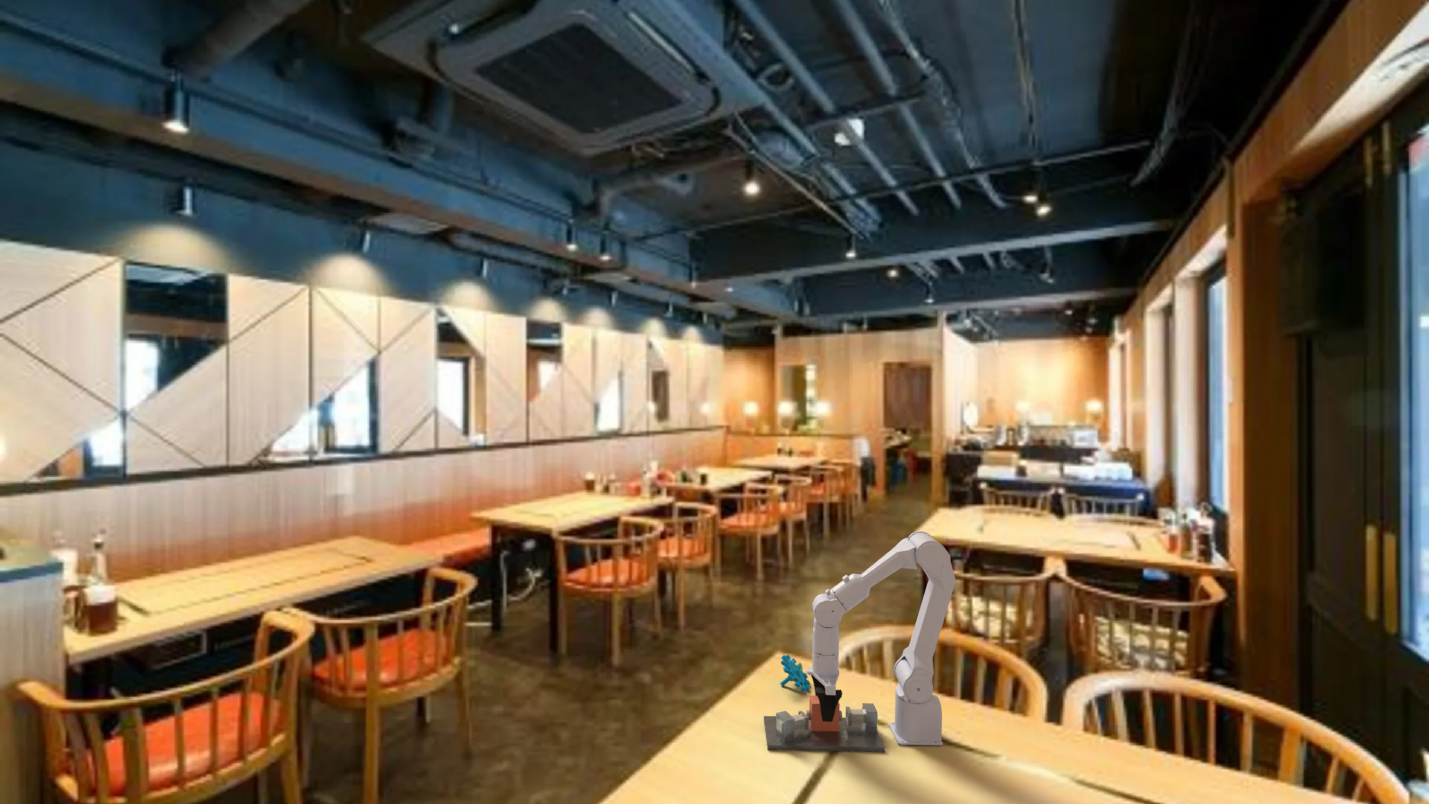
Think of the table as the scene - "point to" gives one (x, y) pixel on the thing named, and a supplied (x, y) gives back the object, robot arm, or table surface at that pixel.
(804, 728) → the stand
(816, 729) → the block
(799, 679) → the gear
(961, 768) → the table surface
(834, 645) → the robot arm
